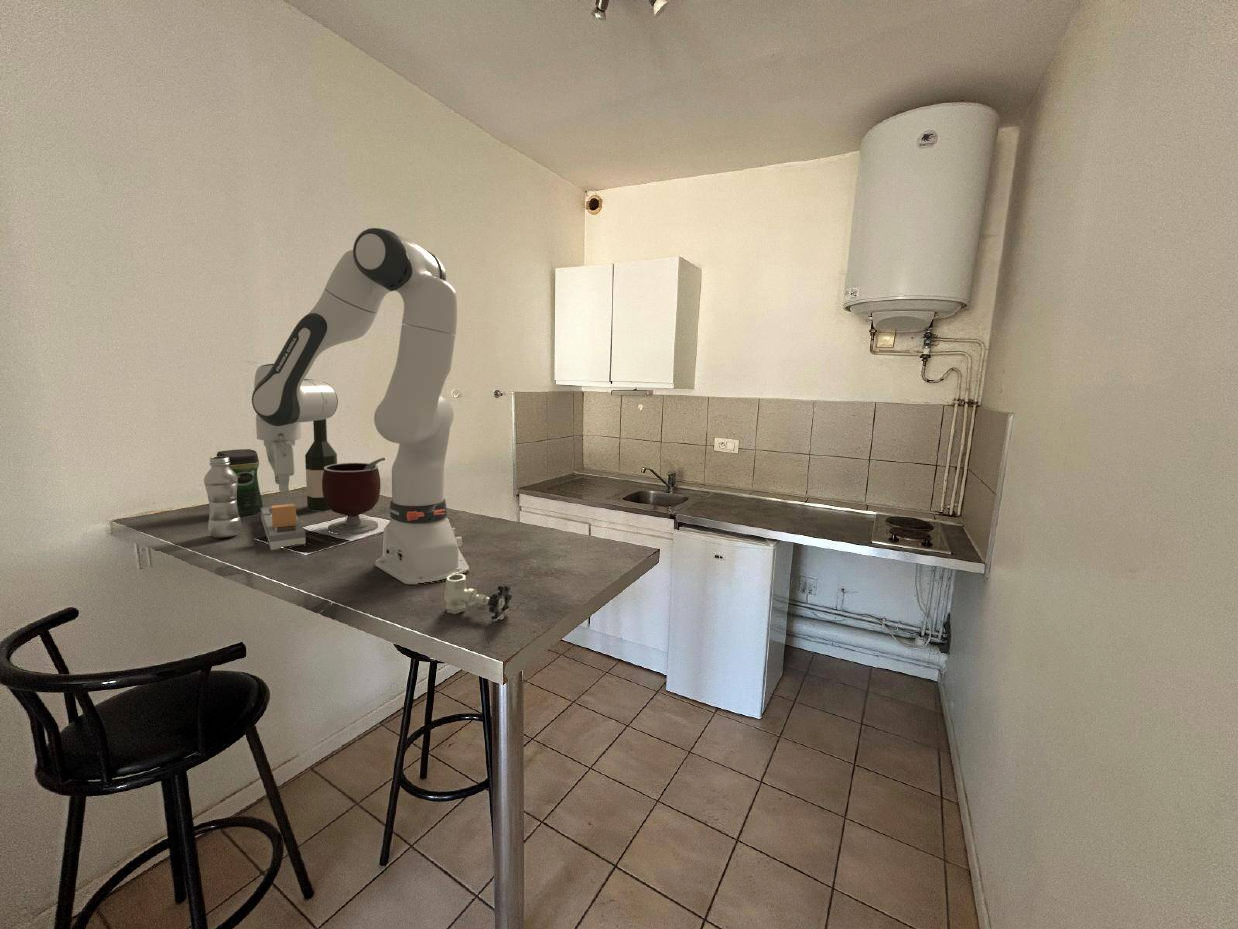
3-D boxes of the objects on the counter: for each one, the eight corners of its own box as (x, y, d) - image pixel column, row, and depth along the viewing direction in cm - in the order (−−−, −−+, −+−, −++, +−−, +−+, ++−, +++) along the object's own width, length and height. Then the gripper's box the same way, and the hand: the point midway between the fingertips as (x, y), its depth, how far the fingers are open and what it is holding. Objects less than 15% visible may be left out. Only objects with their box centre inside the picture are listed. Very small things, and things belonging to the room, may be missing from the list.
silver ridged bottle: (249, 533, 125) (243, 456, 122) (225, 541, 119) (219, 460, 115) (225, 531, 126) (220, 454, 123) (201, 539, 119) (194, 458, 116)
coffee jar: (256, 507, 148) (252, 446, 144) (266, 512, 143) (262, 450, 140) (216, 513, 140) (211, 449, 137) (226, 519, 135) (220, 452, 132)
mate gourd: (314, 535, 127) (310, 459, 123) (337, 520, 140) (334, 451, 137) (377, 536, 129) (375, 461, 126) (394, 521, 142) (393, 453, 139)
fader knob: (297, 531, 123) (295, 506, 122) (273, 534, 120) (272, 508, 119) (295, 528, 125) (294, 503, 124) (272, 531, 122) (271, 505, 121)
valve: (435, 616, 89) (493, 628, 86) (435, 582, 88) (494, 593, 85) (456, 601, 96) (511, 612, 92) (456, 569, 94) (512, 579, 91)
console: (305, 545, 120) (305, 531, 119) (270, 550, 115) (269, 535, 115) (291, 516, 141) (290, 504, 140) (261, 520, 136) (260, 507, 136)
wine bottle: (336, 503, 158) (332, 409, 153) (341, 509, 151) (337, 412, 146) (305, 505, 152) (300, 409, 147) (309, 512, 146) (305, 411, 141)
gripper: (300, 436, 112) (302, 495, 115) (289, 426, 128) (292, 478, 130) (266, 437, 108) (270, 498, 111) (259, 426, 124) (262, 480, 126)
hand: (281, 487), depth 120 cm, fingers open, 8 cm apart
